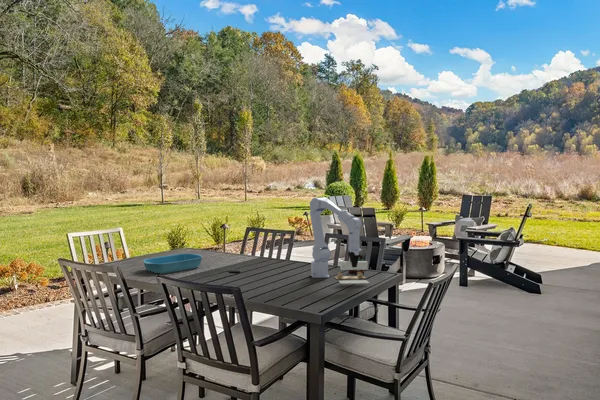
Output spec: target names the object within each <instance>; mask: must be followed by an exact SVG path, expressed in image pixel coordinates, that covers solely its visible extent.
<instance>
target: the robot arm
mask: <svg viewBox="0 0 600 400" xmlns="http://www.w3.org/2000/svg"><path fill="white" fill-rule="evenodd" d="M309 207H310V209H309V216H310V222H311V228H312V234H313V238H314V239H313V240H314V245H313V247H312V252H311V253H312V255H311V256H312V258H313V260H311V261H310V262H311V263H310V264H311V265H310V269H311V270H310V275H311V277H312V278H313V279H314V278H315V279H316V278H318V279H319V278H330V275H329V258H330V257H331V255H332V253H331V249H330V248H329V244H327V242H325V235H324V230H323V225H322V218H321V214H322V213H323V212H324V211H325V210H326V209H327V210H328V211H330V212H332V213H333V214H335V215H337V218H338V220H340V221H341V223H343V224H345V225H346V228H347V232H348V249H347V251H348V252H347V255H348V258H349V261H352V267H357V263H358V259H359V258H360V256H361V254H360V253H359V252H360V251H363V250H362V248H361V246H360V234H361V233H360V229H361V227H362V225H363V222H362V220H361V218H360V217H357V216H355V215H354V214H351V213H350V212H349V211H348V210H347V209H340V208H339V207H338V206H337V205H336V204H334V202H333V201H331V199H329V198H328V197H325V196H323V197H312V199H311V200H310V202H309Z"/></svg>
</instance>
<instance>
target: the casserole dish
mask: <svg viewBox="0 0 600 400" xmlns="http://www.w3.org/2000/svg"><path fill="white" fill-rule="evenodd" d="M202 259H203V255H201V254H198V253H188V252H187V253H176V254H169V255H163V256H154V257H149V258H144V259H142V261H143V265H144V268H145V269H146V271H148V272H150V271H151V272H150V273H153V272H154V273H153V274H157V273H160V275H163V274H171V273H177V272H183V271H188V270H192V269H196V268H198V267H199V266H200V265H201V263H202Z"/></svg>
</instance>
